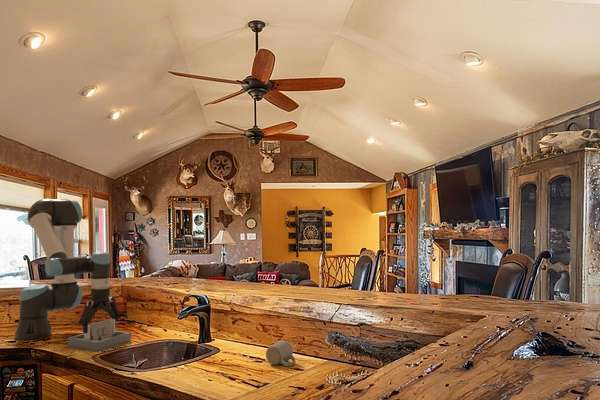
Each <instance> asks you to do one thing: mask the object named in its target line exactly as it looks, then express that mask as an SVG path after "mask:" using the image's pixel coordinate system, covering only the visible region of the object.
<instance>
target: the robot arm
mask: <svg viewBox="0 0 600 400" xmlns="http://www.w3.org/2000/svg"><path fill="white" fill-rule="evenodd" d="M82 218H83V210H82V206H81V204H80V203H79V201H77V200H74V199H65V198H63V199H62V198H61V199H59V198H42V199H39V200H37V201H35V202H34V203H33V204H32V205H31V206H30V207H29V210H28V212H27V222H28V224H29V226H30V227H31V228H32V229H33V230H34V231H35V234H36V235H37V239H38V240H39V243H40V245H41V248H42V249H43V252H44V254H45V256H46V258H47V259H46V261H45V264H44V269H45V270H44V271H45V273H46V275H47V276H49V277H54V278H53V280H52V281H51V282H50V285H51V286H49V285H48V284H47V283H43V284H42V283H40V284H34V285H30V286H26V287H24V288H22V289H21V290H20V293H19V321H18V324H17V327H16V329H15V331H14V339H15V340H19V341H20V340H21V341H24V340H26V341H28V340H29V341H30V340H36V339H38V340H39V339H43V338H47V337H50V336H51V335H52V334H53V333H52V331H53V329H52V327H51V324H50V321H49V318H48V317H49V316H48V315H49V312H55V311H61V310H70V309H73V308H76V307H78V306H79V305H80V303H81V301H82V297H83V288H82V284H79V283H78V280H77V278H75V275H79V274H80V275H81V274H91V281H90V283H91V284H90V287H91V290H90V293H91V294H90V295H91V300H86V301H85V303H84V305H85V306H84V308H83V310H82V313H81V315H80V318H79V321H78V325H81V326H82V334H84V339H87V340H90V325H91V321H92V319H93V318H94V316H95V315H96V313H97V312H98V311H101V310H105V312H106V314H108V315H109V317H110V318H109V321H110V326H111V331H112V334H115V331H116V325H117V319H119V317H120V316H121V313H120V311H119V308H118V305H117V304H116V300H115V296H111V294H110V293H111V289H110V286H111V282H110V280H111V254H110V253H109V252H108V251H107V252H106V251H105V252H103V251H102V252H99V251H97V252H93V253H92V254H91V255H83V256H75V229H76V228H78V223H80V222H81V221H82Z"/></svg>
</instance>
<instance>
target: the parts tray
mask: <svg viewBox="0 0 600 400" xmlns="http://www.w3.org/2000/svg"><path fill="white" fill-rule="evenodd" d="M91 333H92V332H91ZM91 335H92V334H91ZM129 343H132V332H128V331H121V330H115V334H112V337H111V338H108V339H104V340H101V341H93V340H87V339H84V333H81V334H77V335H73V336H70V337H67V348H69V347H70V348H71V349H77V350H82V349H83V350H82V351H89V352H93V353H94V352H95V353H100V352H102V351H103V352H104V351H106V350H109V349H112V348H116V347H118V346H121V345H124V344H129Z"/></svg>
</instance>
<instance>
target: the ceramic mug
mask: <svg viewBox="0 0 600 400" xmlns="http://www.w3.org/2000/svg"><path fill="white" fill-rule="evenodd" d="M293 351H294V350H293V347H292V345H291V344H290V343H289V342H288V341H286V340H285V339H284V340H282V339H281V340H280V341H278V342H275V343H274V344H272V345H270V346H269V347H268V348H267V349H266V352H265V357H266V360H267V362H268V363H269V364H271V365H273V366H277V365H281V364H282V365H283V366H285V367H293V366H295V364H296V359H295V357H294V356H293V354H294V352H293ZM290 360H291V361H292V362H288V361H290ZM292 365H293V366H292Z"/></svg>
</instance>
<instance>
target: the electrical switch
mask: <svg viewBox="0 0 600 400" xmlns="http://www.w3.org/2000/svg"><path fill="white" fill-rule="evenodd" d="M89 325H90V340H93V341H101V340H104V339H108V338H111V337H112V331H111V326H110V319H105V320H100V321H97V322H92V323H91V322H90V324H89ZM91 332H92V333H91ZM91 334H92V335H91Z"/></svg>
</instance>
